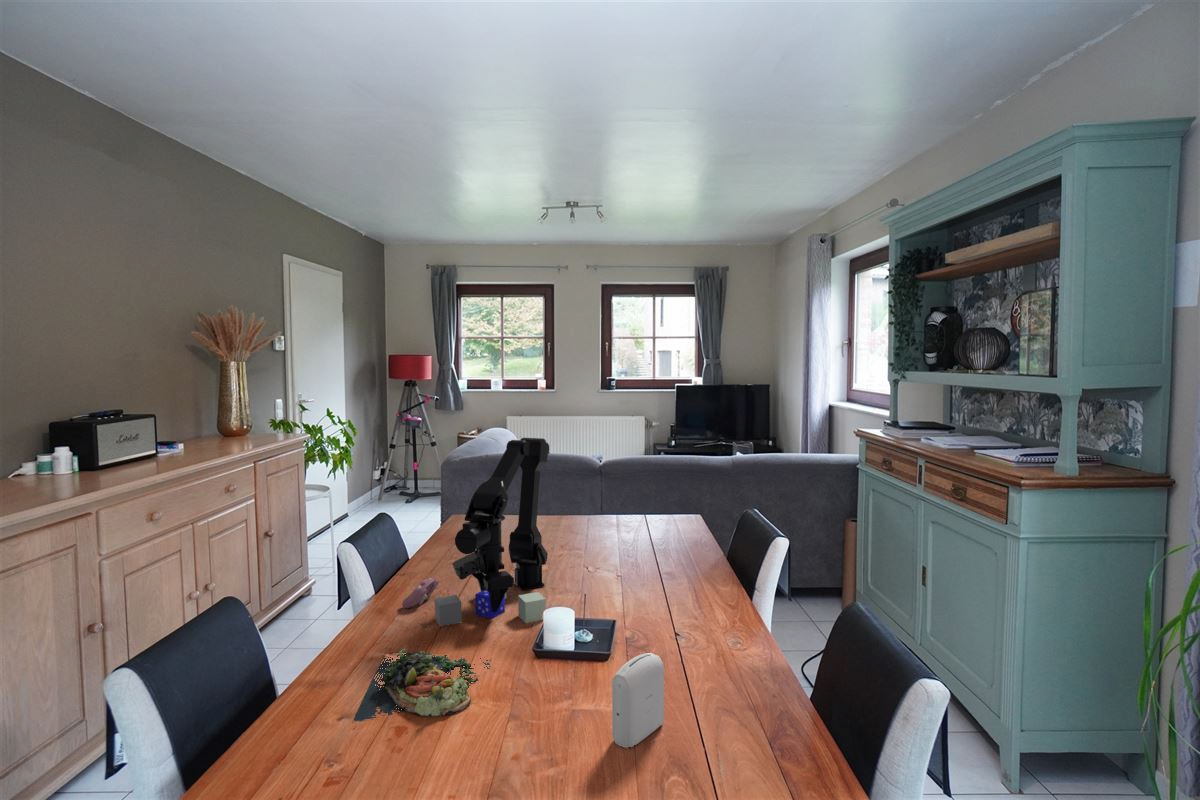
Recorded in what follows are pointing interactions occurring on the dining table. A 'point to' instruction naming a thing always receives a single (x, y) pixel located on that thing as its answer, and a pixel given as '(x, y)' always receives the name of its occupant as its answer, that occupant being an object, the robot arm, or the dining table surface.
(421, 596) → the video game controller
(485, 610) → the die
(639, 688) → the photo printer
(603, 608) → the dining table surface
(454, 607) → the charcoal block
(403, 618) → the dining table surface
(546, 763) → the dining table surface
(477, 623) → the dining table surface
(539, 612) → the sage green block
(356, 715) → the plated dish
